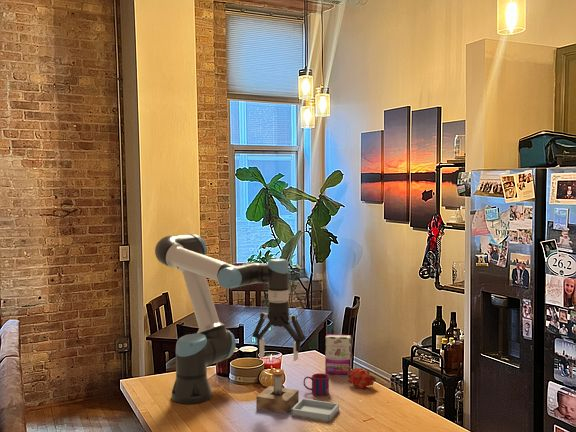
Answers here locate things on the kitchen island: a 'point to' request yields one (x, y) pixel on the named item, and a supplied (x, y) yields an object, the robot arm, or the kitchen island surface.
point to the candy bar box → (338, 354)
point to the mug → (319, 384)
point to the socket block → (277, 400)
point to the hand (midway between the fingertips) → (278, 358)
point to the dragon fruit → (360, 378)
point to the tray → (315, 410)
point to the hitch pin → (278, 381)
